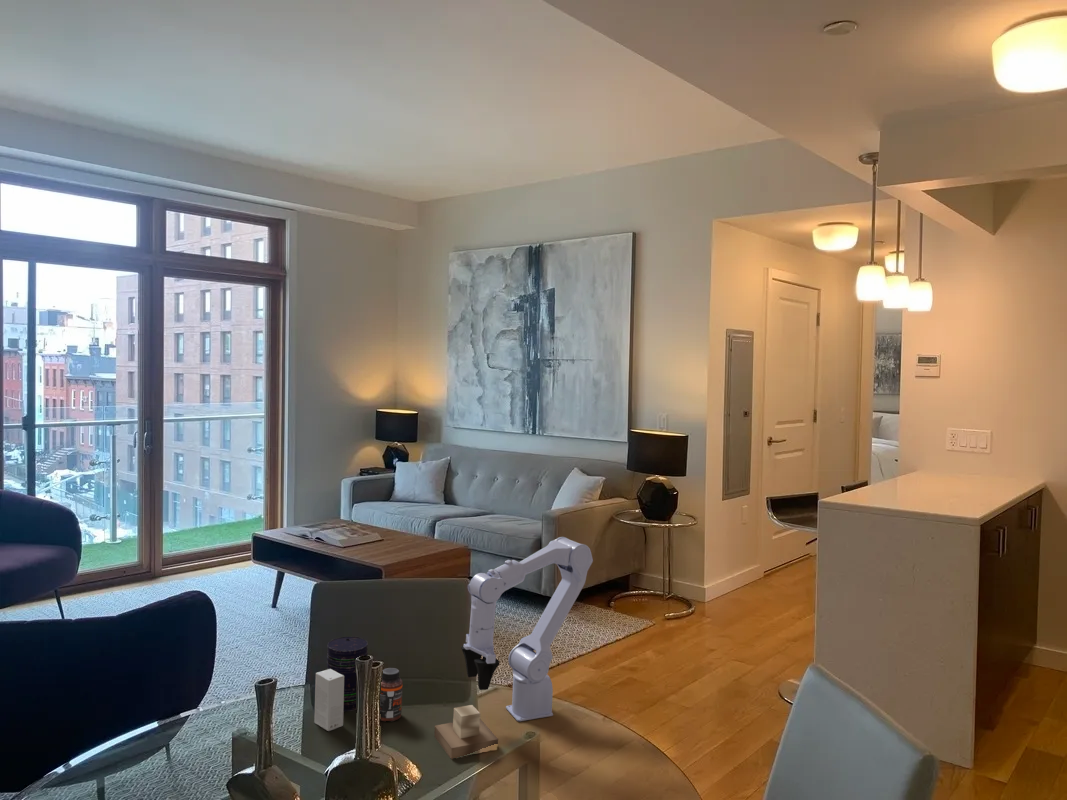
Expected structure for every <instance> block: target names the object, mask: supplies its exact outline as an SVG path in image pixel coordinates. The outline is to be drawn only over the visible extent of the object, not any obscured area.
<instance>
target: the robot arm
mask: <svg viewBox="0 0 1067 800" xmlns="http://www.w3.org/2000/svg"><path fill="white" fill-rule="evenodd" d="M591 551H592V550H591V549H590V547H589V546H588V545H587V544H585V543H579V542H577V541H575V540H571V539H569V538H567V537H565V536H559V537H557V538H556V539H553V540H550V541H549V543H548V544H547V545H546V546H544V547H543V548H541V549H539V550H537V551H535V552H534V553H532V554H530V555H529V556H527V557H526V558H524V559H522V560H520V561H517V560H515V559H512V560H510V559H507V560H505V561H504V564H502V565H499V566H498V567H496V568H494V569H492V568H490V569H488V571H487V572H486V573H485V572H478V573H476V574H475V575H474V576H473V577H472V578H471V579H470V581H469V584H467V590H468V593H469V594H470V599H471V600H470V602H471V604H470V605H471V606H470V607H471V608H470V619H469V630H468V633H466V634H465V643H463V645H461V646H460V649H461V651H462V655H463V657H464V660H465V669H466V674H467V677H468V678H473V677H475V678H476V677H477V686H478V690H479V691H485V690H488V689H489V688H490V685H491V681H492V678H493V676H494V674H495V671H496V670H497V668H498V667H499V665H500V660H498V658H497V657H496V656H497V655H496V653H495V647H494V646H495V645H494V634H495V631H494V630H495V618H496V608H497V605H496V604H497V601H498V600H499V599H500V598H501V596H502V594H503V593H505V592H506V591H508V590H509V589H512V588H514V587H515V586H518V585H519V584H521V583H523V582H524V581H525V578H526V575H529V574H531V573H533V572H536V571H538V570H540V569H543V568H545V567H547V566H549V565H553V564H556V566H557V567H558V570H559V571H560V576H561V580H560V582H559V584H558V585H557V587H556V589H555V591H554V593H553V594H552V596H551V598H550V599H549V601H548V603H547V604H546V607H545V608H544V610H543V612H542V613H541V616H540V618H539V619H538V621H537V623H536V624H535V626H534V628H533V630H532V631H531V634H529V635H526V636H523V637H522V638H521V639H520V641H519V642H518V644H516V645H515V646H514V647H513V648H512V649H511V650H510V652H509V655H508V659H507V661H508V665H509V666H510V668H511V669H512V674H513V675H512V700H511V701H512V702H511V704H509V705H506V706H505V709H506V710H507V711H508V713H510V714H511V716H513V718H514V719H515V721H517V722H525V721H530V720H536V719H542V718H547V717H553V716H554V713H553V710H552V709H553V691H554V689H553V687H554V686H553V682H552V680H551V677H550V676H549V674H548V673H549V670H550V669H549V668H550V665H551V662H552V659H553V653H552V649H551V645H552V643H553V642H554V639H555V638H556V637H557V635H558V633H559V631H560V629H561V627H562V625H563V624H564V622H565V619H566V618H567V616H568V614H569V613H570V611H571V610H572V607H573V605H574V604H575V602H576V600H577V598H578V597H579V595H580V593H581V591H582V590H583V588H584V586H585V584H586V580H587V574H588V571H589V570H590V567H591V566H592V564H593V562H594V560H593V555H592V552H591Z"/></svg>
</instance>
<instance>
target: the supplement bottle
mask: <svg viewBox="0 0 1067 800" xmlns="http://www.w3.org/2000/svg"><path fill="white" fill-rule="evenodd" d="M382 671H383V675H382V674H381V678H382V682H381V694H380V714H381V720H380V721H382V722H386V721H391V722H395V721H397V720H399V719H401V718H402V710H403V709H402V708H403V688H404V687H403V682H404V681H403V680H402V679H401V677H400V670H399V669H398V668H395V667H388V668H386V667H385V668H384V669H382Z"/></svg>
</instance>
